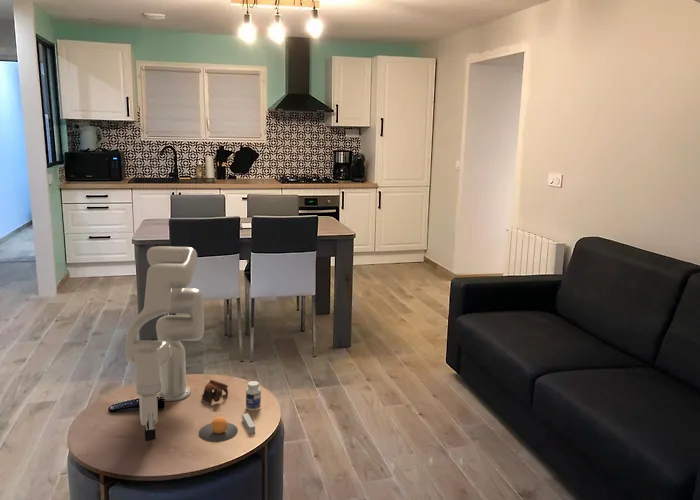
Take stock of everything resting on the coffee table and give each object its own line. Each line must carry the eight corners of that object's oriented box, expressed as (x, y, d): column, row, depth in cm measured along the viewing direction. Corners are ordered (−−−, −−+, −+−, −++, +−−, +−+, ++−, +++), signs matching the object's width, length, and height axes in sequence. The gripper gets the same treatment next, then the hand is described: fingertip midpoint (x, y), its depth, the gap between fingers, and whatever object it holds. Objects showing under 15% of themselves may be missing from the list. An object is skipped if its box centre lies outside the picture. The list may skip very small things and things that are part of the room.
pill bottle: (243, 407, 214) (243, 382, 213) (255, 402, 218) (255, 379, 216) (251, 412, 211) (251, 387, 209) (263, 408, 214) (263, 383, 212)
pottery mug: (196, 398, 221) (204, 377, 224) (219, 404, 226) (226, 384, 228) (206, 403, 211) (214, 381, 213) (229, 410, 215) (236, 388, 217)
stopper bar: (242, 420, 204) (242, 414, 204) (248, 419, 205) (248, 413, 205) (249, 434, 196) (249, 427, 195) (255, 433, 196) (255, 426, 196)
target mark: (196, 425, 200) (196, 425, 200) (234, 420, 204) (234, 419, 204) (201, 444, 188) (201, 443, 188) (241, 438, 193) (240, 437, 193)
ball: (221, 411, 197) (229, 422, 199) (207, 420, 196) (215, 432, 198) (222, 418, 192) (231, 430, 194) (208, 427, 191) (217, 439, 193)
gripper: (134, 379, 189) (136, 430, 192) (137, 398, 175) (139, 453, 179) (158, 376, 192) (160, 426, 195) (163, 394, 178) (164, 448, 182)
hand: (150, 439), depth 187 cm, fingers closed
